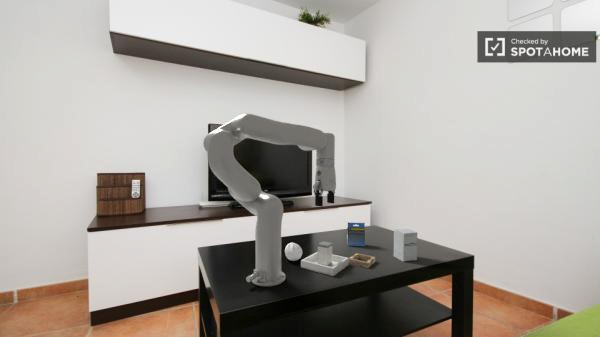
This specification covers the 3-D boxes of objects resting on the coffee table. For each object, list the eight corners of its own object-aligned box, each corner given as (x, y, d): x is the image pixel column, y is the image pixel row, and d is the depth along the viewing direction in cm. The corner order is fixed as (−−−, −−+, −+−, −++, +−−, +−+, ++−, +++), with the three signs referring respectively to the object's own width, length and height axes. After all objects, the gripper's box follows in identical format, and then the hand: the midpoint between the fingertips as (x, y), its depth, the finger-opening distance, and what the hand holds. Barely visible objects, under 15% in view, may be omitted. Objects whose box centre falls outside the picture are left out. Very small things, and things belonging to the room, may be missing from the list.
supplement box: (403, 262, 119) (403, 233, 118) (393, 256, 126) (393, 229, 125) (417, 260, 121) (417, 232, 120) (406, 254, 128) (407, 228, 127)
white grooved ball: (295, 264, 115) (295, 246, 115) (281, 261, 119) (281, 243, 119) (305, 259, 122) (305, 241, 122) (291, 255, 126) (291, 239, 126)
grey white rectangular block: (327, 267, 111) (327, 245, 110) (317, 265, 113) (317, 243, 113) (332, 264, 114) (332, 243, 114) (322, 262, 117) (322, 241, 117)
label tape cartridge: (363, 244, 144) (364, 221, 143) (364, 246, 140) (365, 222, 139) (346, 243, 145) (347, 220, 144) (347, 246, 141) (347, 222, 140)
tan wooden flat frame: (368, 268, 112) (368, 263, 112) (348, 263, 117) (348, 258, 117) (375, 261, 119) (375, 256, 119) (356, 257, 124) (356, 252, 124)
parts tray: (333, 276, 104) (333, 268, 104) (300, 267, 112) (300, 260, 112) (348, 264, 115) (348, 257, 115) (318, 257, 124) (318, 251, 124)
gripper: (322, 163, 103) (322, 208, 104) (342, 163, 117) (342, 202, 118) (306, 163, 108) (305, 206, 108) (327, 163, 122) (327, 201, 122)
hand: (325, 204), depth 113 cm, fingers open, 9 cm apart
